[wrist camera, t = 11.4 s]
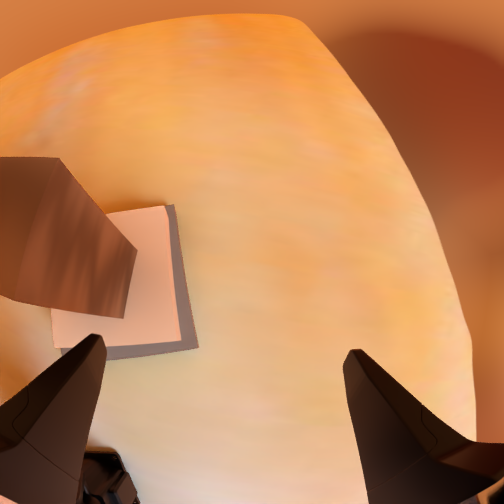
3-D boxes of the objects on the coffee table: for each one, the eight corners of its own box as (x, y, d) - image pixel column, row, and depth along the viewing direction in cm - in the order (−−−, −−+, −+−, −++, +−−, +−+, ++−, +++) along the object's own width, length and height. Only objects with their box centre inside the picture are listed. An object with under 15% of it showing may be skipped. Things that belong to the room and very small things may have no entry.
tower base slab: (75, 362, 20) (63, 363, 18) (65, 239, 23) (53, 230, 21) (199, 346, 22) (197, 348, 20) (176, 216, 26) (173, 204, 23)
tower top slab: (68, 347, 18) (54, 347, 16) (65, 233, 21) (53, 223, 19) (181, 340, 20) (177, 340, 18) (168, 218, 23) (164, 205, 20)
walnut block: (123, 318, 18) (13, 300, 6) (66, 302, 17) (-53, 268, 6) (137, 250, 19) (58, 157, 8) (81, 239, 19) (-15, 157, 7)
